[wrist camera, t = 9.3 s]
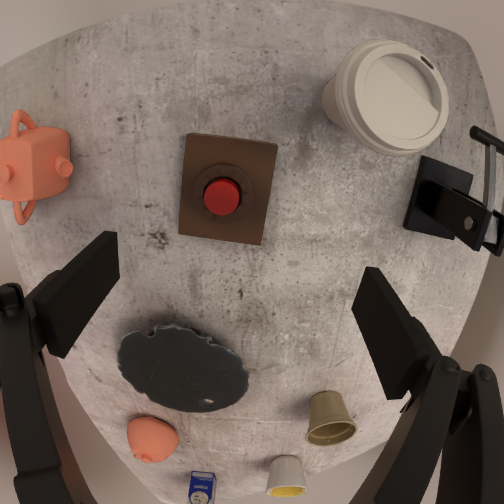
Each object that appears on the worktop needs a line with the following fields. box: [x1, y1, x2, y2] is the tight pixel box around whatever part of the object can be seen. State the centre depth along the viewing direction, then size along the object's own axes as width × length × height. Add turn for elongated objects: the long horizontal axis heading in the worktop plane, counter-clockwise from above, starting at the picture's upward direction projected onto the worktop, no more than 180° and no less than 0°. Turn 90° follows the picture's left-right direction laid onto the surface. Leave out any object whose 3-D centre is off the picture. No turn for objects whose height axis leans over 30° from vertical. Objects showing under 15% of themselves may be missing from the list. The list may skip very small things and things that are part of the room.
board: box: [117, 323, 249, 413], centre depth 45 cm, size 22×22×5 cm
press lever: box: [470, 126, 504, 244], centre depth 24 cm, size 12×6×2 cm, turn 172°
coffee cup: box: [321, 40, 449, 156], centre depth 23 cm, size 10×10×15 cm
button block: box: [178, 133, 278, 246], centre depth 33 cm, size 12×10×4 cm
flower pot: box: [305, 391, 358, 447], centre depth 48 cm, size 9×9×9 cm
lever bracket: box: [403, 155, 504, 257], centre depth 29 cm, size 10×9×13 cm
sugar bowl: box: [127, 416, 179, 463], centre depth 54 cm, size 12×14×10 cm
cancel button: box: [204, 178, 240, 215], centre depth 31 cm, size 4×4×2 cm
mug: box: [266, 455, 307, 497], centre depth 60 cm, size 14×10×10 cm
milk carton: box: [187, 471, 216, 504], centre depth 63 cm, size 7×7×20 cm
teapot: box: [0, 110, 73, 225], centre depth 29 cm, size 14×12×10 cm
